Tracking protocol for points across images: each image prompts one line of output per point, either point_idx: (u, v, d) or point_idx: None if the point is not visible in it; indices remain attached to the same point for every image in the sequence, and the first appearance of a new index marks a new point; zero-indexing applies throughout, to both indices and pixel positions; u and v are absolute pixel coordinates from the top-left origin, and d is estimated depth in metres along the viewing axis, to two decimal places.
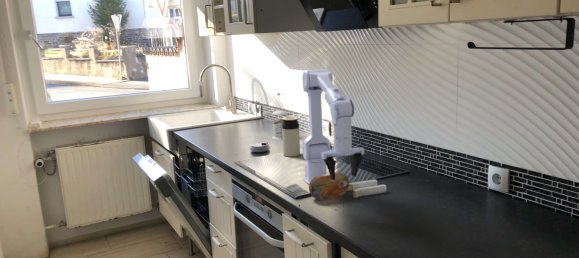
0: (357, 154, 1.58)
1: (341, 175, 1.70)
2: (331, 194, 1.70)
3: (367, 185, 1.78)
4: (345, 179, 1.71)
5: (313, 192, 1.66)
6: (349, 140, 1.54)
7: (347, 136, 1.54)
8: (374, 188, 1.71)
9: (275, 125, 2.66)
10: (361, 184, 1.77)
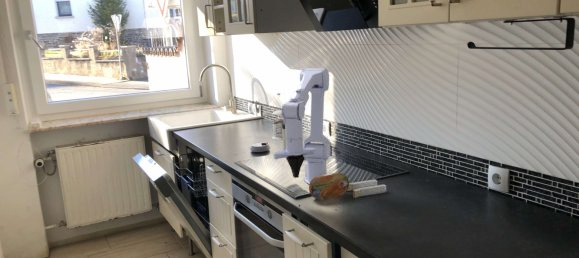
0: (309, 154, 1.63)
1: (341, 175, 1.70)
2: (331, 194, 1.70)
3: (367, 185, 1.78)
4: (345, 179, 1.71)
5: (313, 192, 1.66)
6: (300, 141, 1.59)
7: (292, 137, 1.58)
8: (374, 188, 1.71)
9: (275, 125, 2.66)
10: (361, 184, 1.77)
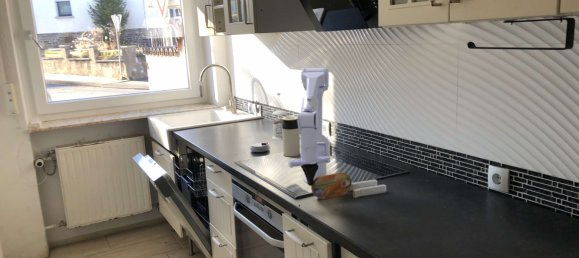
0: (323, 163, 1.67)
1: (343, 174, 1.71)
2: (334, 194, 1.70)
3: (367, 185, 1.78)
4: (347, 178, 1.72)
5: (315, 192, 1.67)
6: (314, 150, 1.63)
7: (309, 146, 1.62)
8: (374, 188, 1.71)
9: (275, 125, 2.66)
10: (361, 184, 1.77)
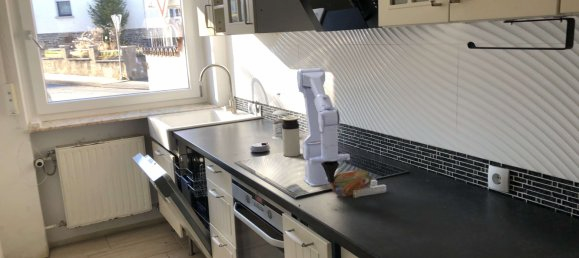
0: None
1: (363, 172, 1.73)
2: None
3: None
4: (367, 176, 1.73)
5: (335, 189, 1.69)
6: (335, 147, 1.65)
7: (333, 143, 1.64)
8: (374, 188, 1.71)
9: (275, 125, 2.66)
10: None
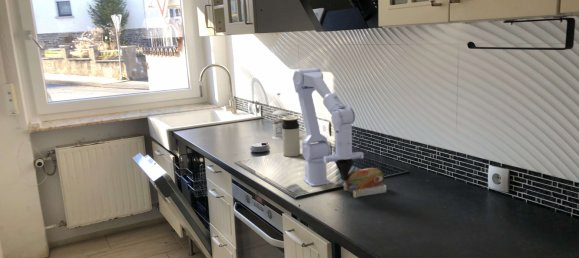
0: None
1: (377, 170, 1.74)
2: None
3: None
4: (380, 174, 1.75)
5: (349, 186, 1.71)
6: (349, 145, 1.67)
7: (349, 141, 1.66)
8: (374, 188, 1.71)
9: (275, 125, 2.66)
10: None
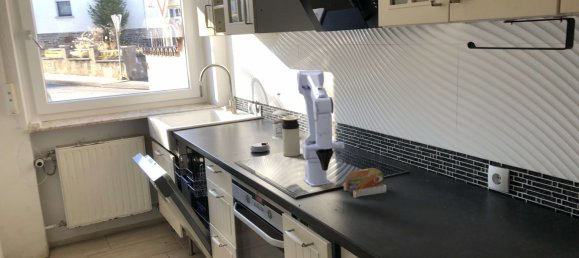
0: None
1: (377, 170, 1.74)
2: None
3: None
4: (380, 174, 1.75)
5: (349, 187, 1.71)
6: (330, 135, 1.66)
7: (327, 131, 1.65)
8: (374, 188, 1.71)
9: (275, 125, 2.66)
10: None
